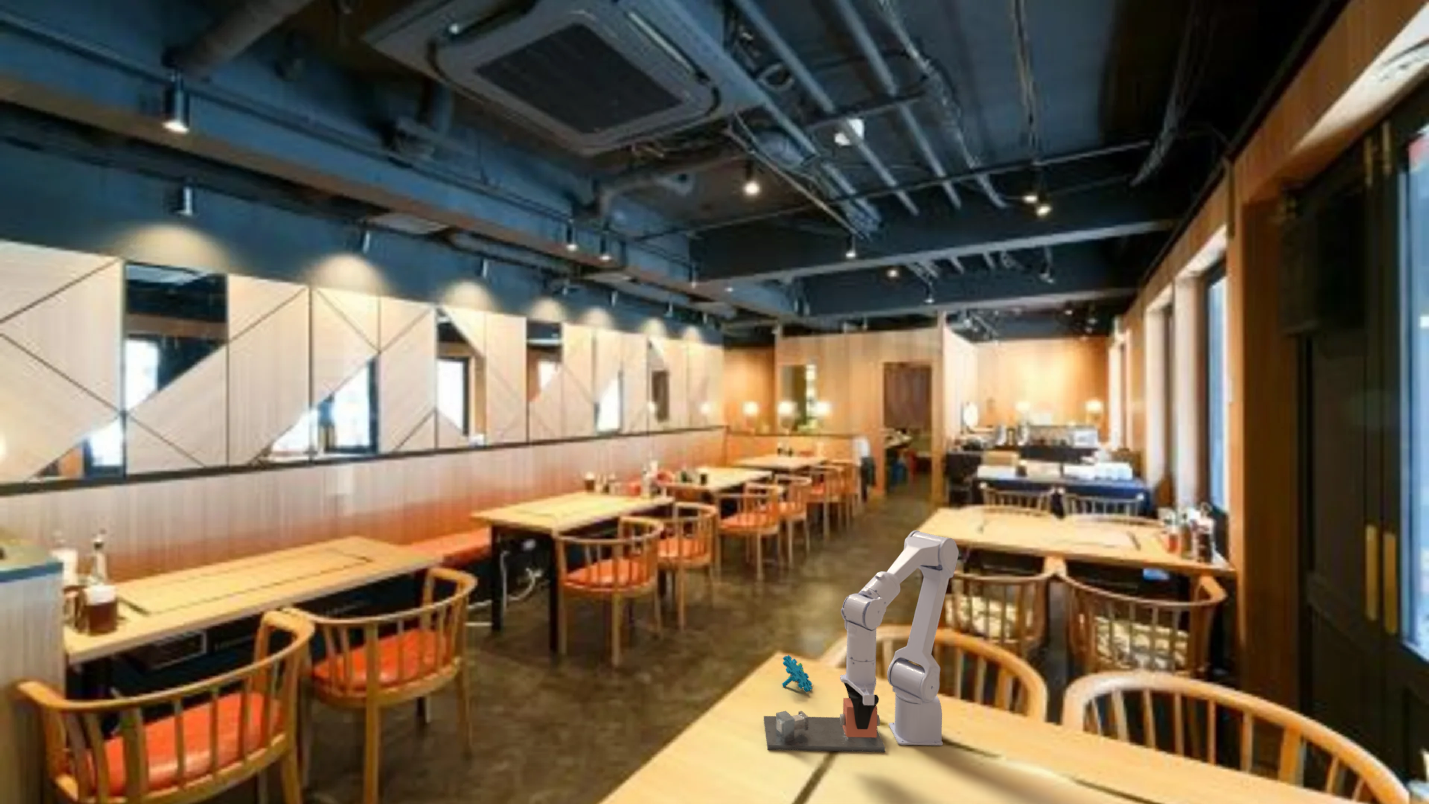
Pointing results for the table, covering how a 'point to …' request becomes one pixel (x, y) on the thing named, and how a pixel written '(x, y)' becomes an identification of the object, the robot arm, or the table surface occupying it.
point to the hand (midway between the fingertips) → (859, 722)
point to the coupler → (850, 726)
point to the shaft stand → (814, 734)
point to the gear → (796, 674)
